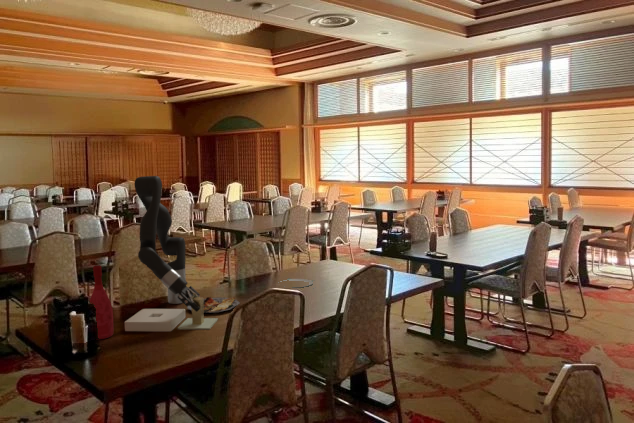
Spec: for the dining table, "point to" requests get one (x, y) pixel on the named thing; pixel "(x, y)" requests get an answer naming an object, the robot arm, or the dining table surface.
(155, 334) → the dining table surface
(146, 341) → the dining table surface
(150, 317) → the cover plate
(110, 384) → the dining table surface
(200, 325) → the green pad
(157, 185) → the robot arm
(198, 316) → the tan rectangular block
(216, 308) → the food plate
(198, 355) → the dining table surface
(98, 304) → the wine bottle
